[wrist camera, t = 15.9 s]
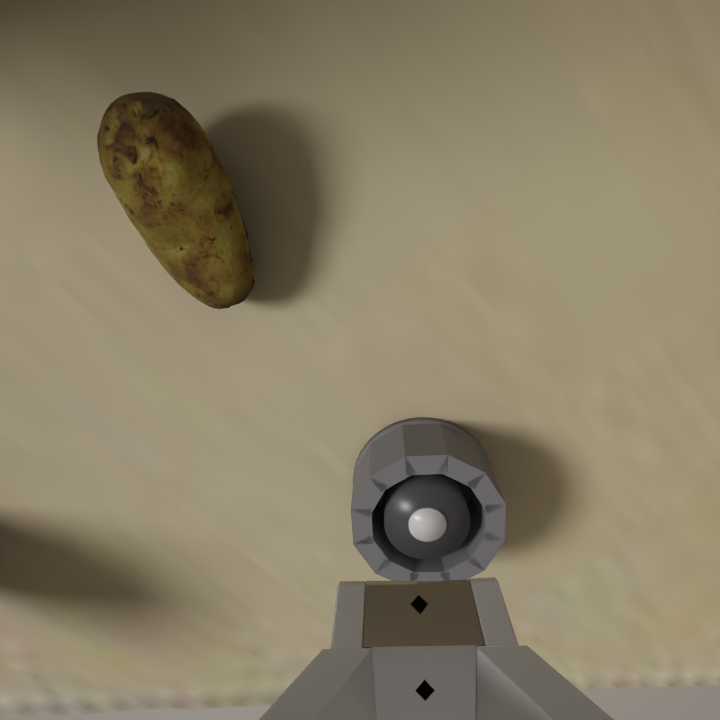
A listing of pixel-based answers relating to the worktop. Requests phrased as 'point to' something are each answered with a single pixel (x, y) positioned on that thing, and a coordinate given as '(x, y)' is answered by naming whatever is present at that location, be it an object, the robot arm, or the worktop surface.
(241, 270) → the potato
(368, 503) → the faceted grey cup
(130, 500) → the worktop surface
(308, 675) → the robot arm
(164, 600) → the worktop surface
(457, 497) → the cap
